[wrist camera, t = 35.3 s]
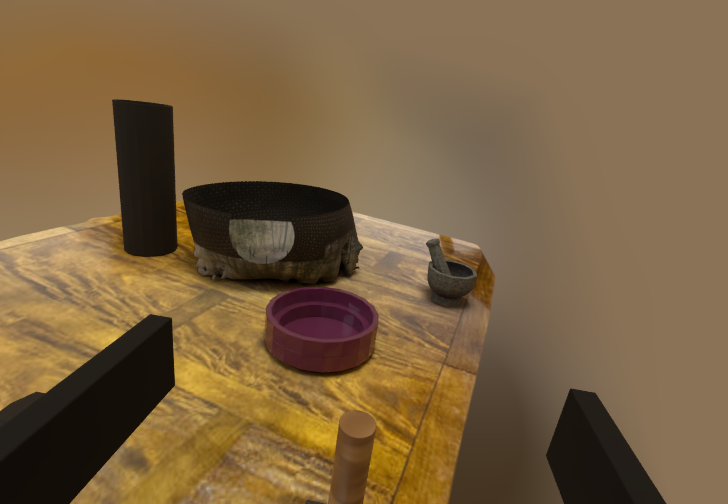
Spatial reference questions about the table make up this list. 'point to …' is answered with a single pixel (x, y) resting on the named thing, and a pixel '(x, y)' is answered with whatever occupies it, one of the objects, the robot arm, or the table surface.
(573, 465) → the robot arm
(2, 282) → the table surface
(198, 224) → the basket
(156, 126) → the vase
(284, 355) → the bowl
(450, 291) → the mortar and pestle
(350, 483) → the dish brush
